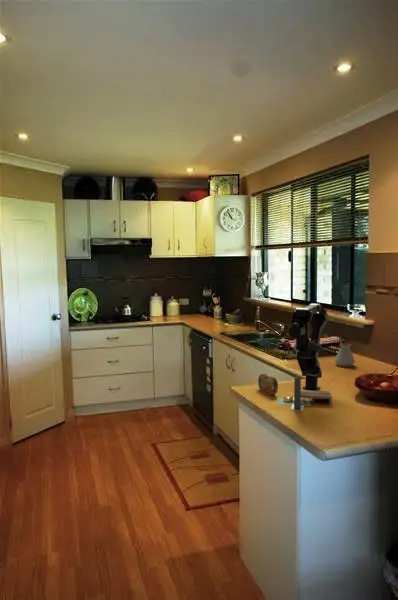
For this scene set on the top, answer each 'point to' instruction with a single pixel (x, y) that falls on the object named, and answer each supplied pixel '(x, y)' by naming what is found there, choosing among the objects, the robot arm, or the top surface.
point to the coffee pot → (344, 355)
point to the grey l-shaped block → (297, 396)
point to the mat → (281, 401)
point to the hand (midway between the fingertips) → (301, 369)
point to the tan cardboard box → (317, 395)
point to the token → (288, 399)
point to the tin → (268, 384)
